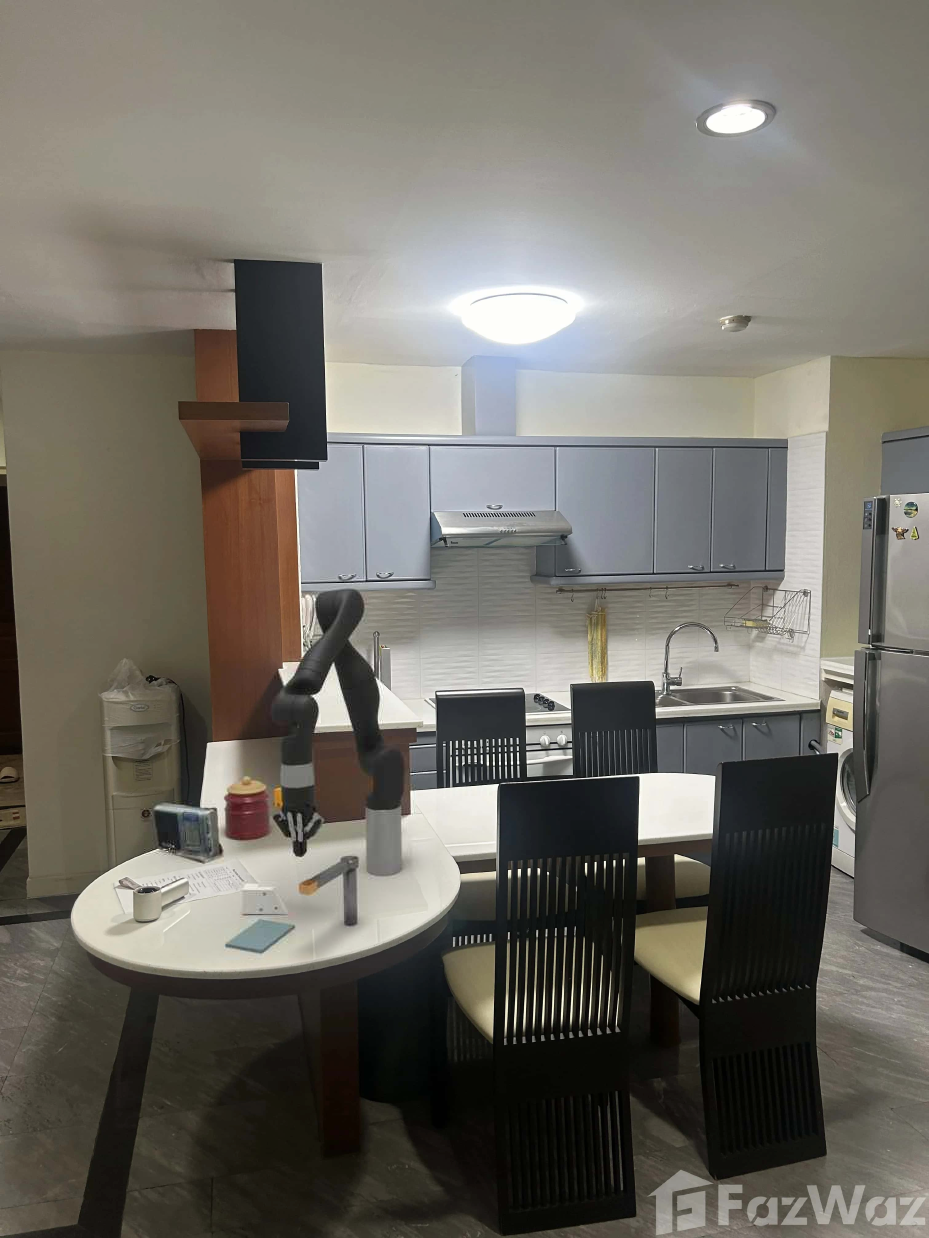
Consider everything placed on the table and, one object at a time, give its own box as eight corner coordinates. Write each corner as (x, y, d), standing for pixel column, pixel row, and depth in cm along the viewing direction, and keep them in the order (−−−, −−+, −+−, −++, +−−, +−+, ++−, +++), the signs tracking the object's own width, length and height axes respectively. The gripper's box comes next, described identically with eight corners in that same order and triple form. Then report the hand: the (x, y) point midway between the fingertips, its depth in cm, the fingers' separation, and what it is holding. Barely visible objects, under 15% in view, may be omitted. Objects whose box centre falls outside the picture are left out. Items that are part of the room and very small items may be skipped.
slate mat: (260, 922, 199) (260, 919, 199) (294, 928, 196) (294, 924, 196) (225, 947, 187) (225, 943, 187) (261, 953, 184) (261, 950, 183)
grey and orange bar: (347, 862, 200) (346, 854, 199) (362, 865, 198) (361, 856, 198) (296, 892, 183) (295, 883, 182) (312, 895, 181) (311, 886, 181)
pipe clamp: (312, 810, 283) (312, 790, 283) (304, 814, 280) (303, 794, 279) (283, 805, 289) (283, 786, 289) (274, 808, 285) (274, 789, 285)
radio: (151, 850, 247) (149, 799, 246) (177, 842, 254) (175, 792, 252) (198, 868, 233) (196, 814, 232) (225, 859, 239) (223, 807, 238)
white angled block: (253, 932, 203) (286, 914, 203) (231, 895, 202) (264, 877, 202) (256, 925, 206) (289, 907, 206) (235, 889, 205) (267, 871, 205)
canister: (277, 829, 264) (275, 771, 263) (260, 843, 252) (258, 783, 250) (236, 827, 267) (235, 769, 265) (217, 841, 254) (215, 781, 252)
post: (347, 919, 200) (346, 864, 199) (359, 921, 199) (358, 866, 198) (341, 924, 197) (340, 869, 196) (353, 926, 196) (352, 870, 195)
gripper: (263, 783, 198) (266, 858, 200) (315, 788, 194) (317, 864, 196) (281, 775, 206) (283, 847, 207) (331, 779, 201) (334, 853, 203)
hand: (300, 855), depth 201 cm, fingers closed
